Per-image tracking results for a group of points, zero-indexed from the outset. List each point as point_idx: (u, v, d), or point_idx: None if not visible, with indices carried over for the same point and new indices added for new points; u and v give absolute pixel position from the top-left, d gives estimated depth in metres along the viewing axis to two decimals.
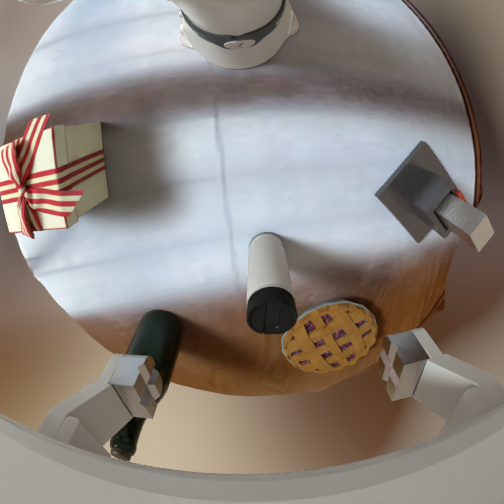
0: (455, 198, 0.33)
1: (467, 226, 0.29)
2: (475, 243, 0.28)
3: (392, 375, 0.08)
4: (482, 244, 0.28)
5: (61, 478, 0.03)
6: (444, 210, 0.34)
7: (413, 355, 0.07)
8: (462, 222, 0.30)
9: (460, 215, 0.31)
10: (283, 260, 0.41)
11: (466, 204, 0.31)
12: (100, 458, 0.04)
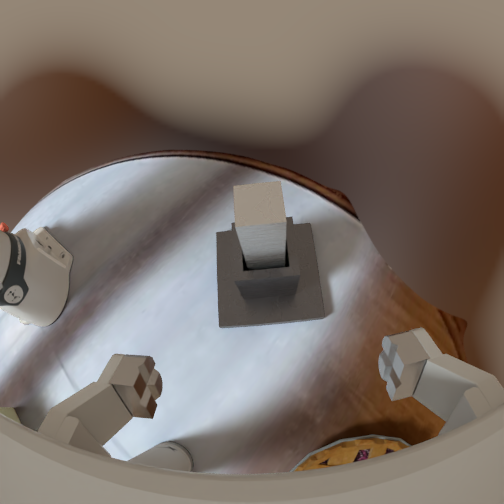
0: None
1: None
2: (261, 222, 0.22)
3: (392, 375, 0.08)
4: (277, 209, 0.22)
5: (61, 478, 0.03)
6: None
7: (413, 355, 0.07)
8: None
9: None
10: (146, 457, 0.23)
11: None
12: (100, 458, 0.04)
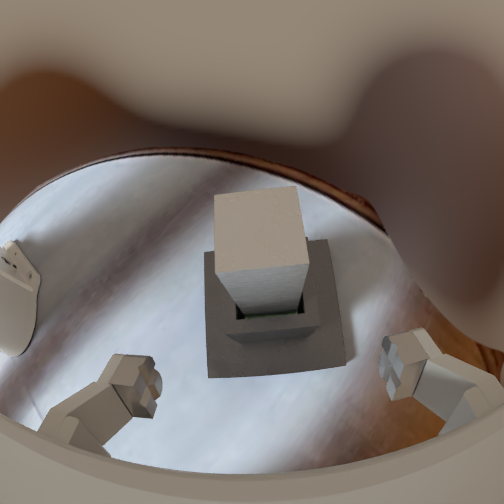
0: None
1: None
2: (262, 263, 0.12)
3: (392, 375, 0.08)
4: (293, 239, 0.12)
5: (61, 478, 0.03)
6: None
7: (413, 355, 0.07)
8: None
9: None
10: None
11: None
12: (100, 458, 0.04)
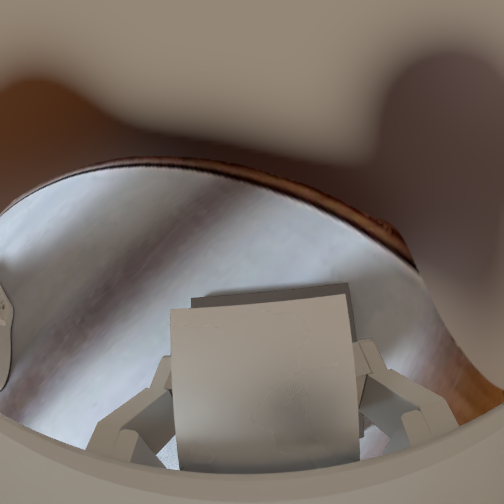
0: None
1: None
2: (269, 467, 0.05)
3: None
4: (334, 421, 0.05)
5: (61, 478, 0.03)
6: None
7: None
8: None
9: None
10: None
11: None
12: (100, 458, 0.04)
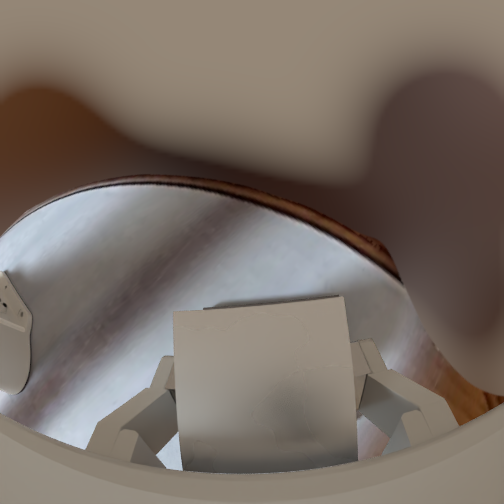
0: None
1: None
2: (270, 465, 0.05)
3: None
4: (332, 420, 0.05)
5: (61, 478, 0.03)
6: None
7: (353, 368, 0.07)
8: None
9: None
10: None
11: None
12: (100, 458, 0.04)
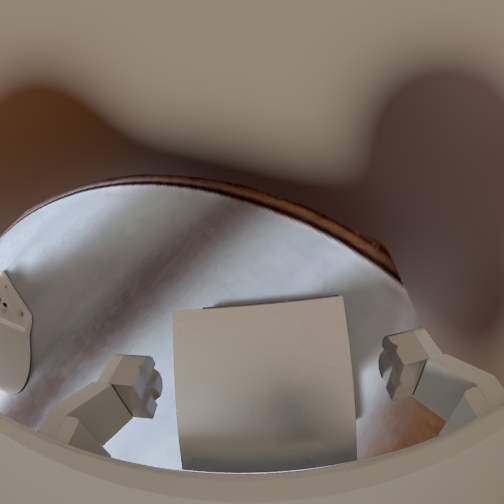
0: None
1: None
2: (269, 464, 0.05)
3: (392, 375, 0.08)
4: (331, 419, 0.05)
5: (61, 478, 0.03)
6: None
7: (413, 355, 0.07)
8: None
9: None
10: None
11: None
12: (100, 458, 0.04)
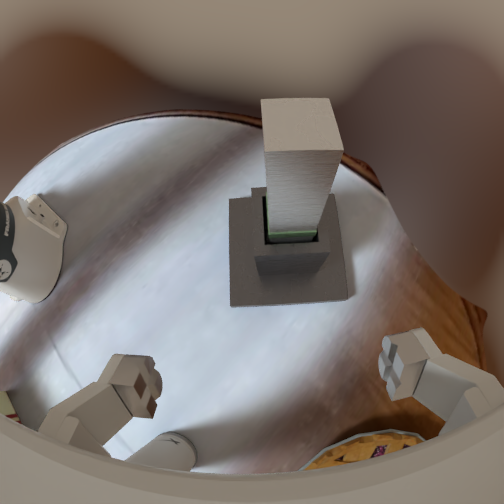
0: None
1: None
2: (305, 146, 0.13)
3: (392, 375, 0.08)
4: (329, 132, 0.13)
5: (61, 478, 0.03)
6: None
7: (413, 355, 0.07)
8: None
9: None
10: (147, 455, 0.21)
11: None
12: (100, 458, 0.04)
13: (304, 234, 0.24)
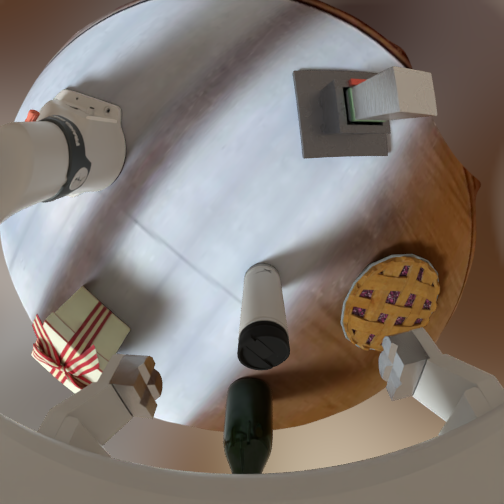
0: (363, 84, 0.23)
1: (390, 102, 0.19)
2: (419, 111, 0.18)
3: (392, 375, 0.08)
4: (431, 102, 0.17)
5: (61, 478, 0.03)
6: (365, 109, 0.25)
7: (413, 355, 0.07)
8: (384, 103, 0.20)
9: (377, 97, 0.21)
10: (262, 287, 0.40)
11: (373, 79, 0.21)
12: (100, 458, 0.04)
13: (376, 121, 0.29)
